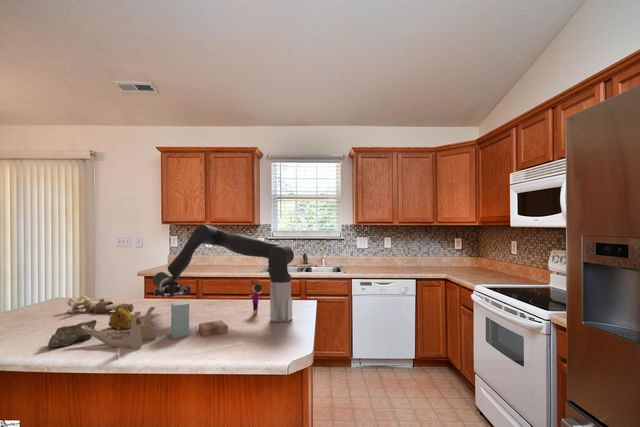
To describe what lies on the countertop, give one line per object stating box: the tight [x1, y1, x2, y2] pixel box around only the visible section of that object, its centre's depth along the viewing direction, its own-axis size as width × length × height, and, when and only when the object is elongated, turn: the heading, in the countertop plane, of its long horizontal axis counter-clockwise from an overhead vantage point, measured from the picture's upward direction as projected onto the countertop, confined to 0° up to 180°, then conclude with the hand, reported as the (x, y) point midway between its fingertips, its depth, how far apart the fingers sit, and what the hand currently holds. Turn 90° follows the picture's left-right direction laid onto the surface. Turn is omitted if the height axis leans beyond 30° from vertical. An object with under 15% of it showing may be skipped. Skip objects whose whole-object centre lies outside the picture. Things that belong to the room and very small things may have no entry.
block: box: [170, 300, 190, 338], centre depth 128 cm, size 6×6×12 cm
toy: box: [248, 282, 263, 315], centre depth 159 cm, size 10×6×15 cm, turn 154°
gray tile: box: [165, 329, 195, 341], centre depth 128 cm, size 9×9×1 cm
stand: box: [198, 319, 229, 337], centre depth 132 cm, size 9×9×3 cm
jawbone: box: [81, 306, 158, 349], centre depth 119 cm, size 25×10×14 cm, turn 86°
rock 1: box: [47, 319, 98, 348], centre depth 122 cm, size 17×7×10 cm
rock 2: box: [108, 308, 142, 331], centre depth 138 cm, size 11×8×10 cm
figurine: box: [67, 295, 134, 314], centre depth 164 cm, size 24×7×30 cm
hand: (175, 293), depth 138 cm, fingers open, 8 cm apart
